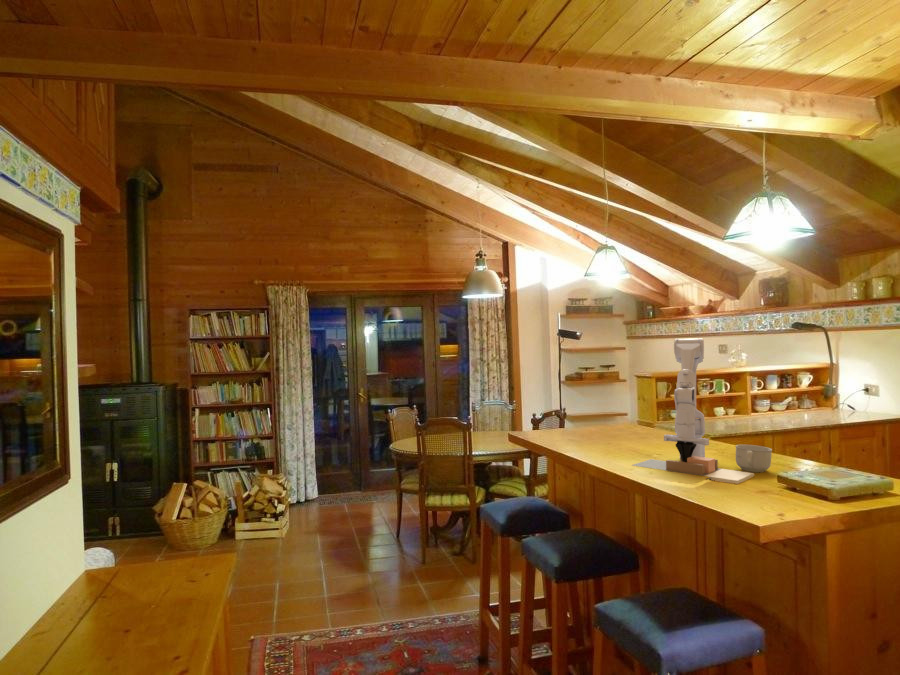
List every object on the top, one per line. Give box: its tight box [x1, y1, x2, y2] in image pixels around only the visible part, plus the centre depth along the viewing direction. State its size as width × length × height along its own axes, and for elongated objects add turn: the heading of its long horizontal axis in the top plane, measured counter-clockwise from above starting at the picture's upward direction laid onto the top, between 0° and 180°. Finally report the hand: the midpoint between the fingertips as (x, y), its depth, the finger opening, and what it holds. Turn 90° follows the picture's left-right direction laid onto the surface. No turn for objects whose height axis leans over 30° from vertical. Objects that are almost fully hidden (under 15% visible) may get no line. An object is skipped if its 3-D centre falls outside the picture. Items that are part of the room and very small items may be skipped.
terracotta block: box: [687, 456, 716, 473], centre depth 201 cm, size 5×7×4 cm
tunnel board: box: [631, 455, 755, 485], centre depth 203 cm, size 14×35×4 cm, turn 45°
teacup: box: [735, 444, 773, 473], centre depth 203 cm, size 14×11×8 cm
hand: (686, 464), depth 204 cm, fingers closed
